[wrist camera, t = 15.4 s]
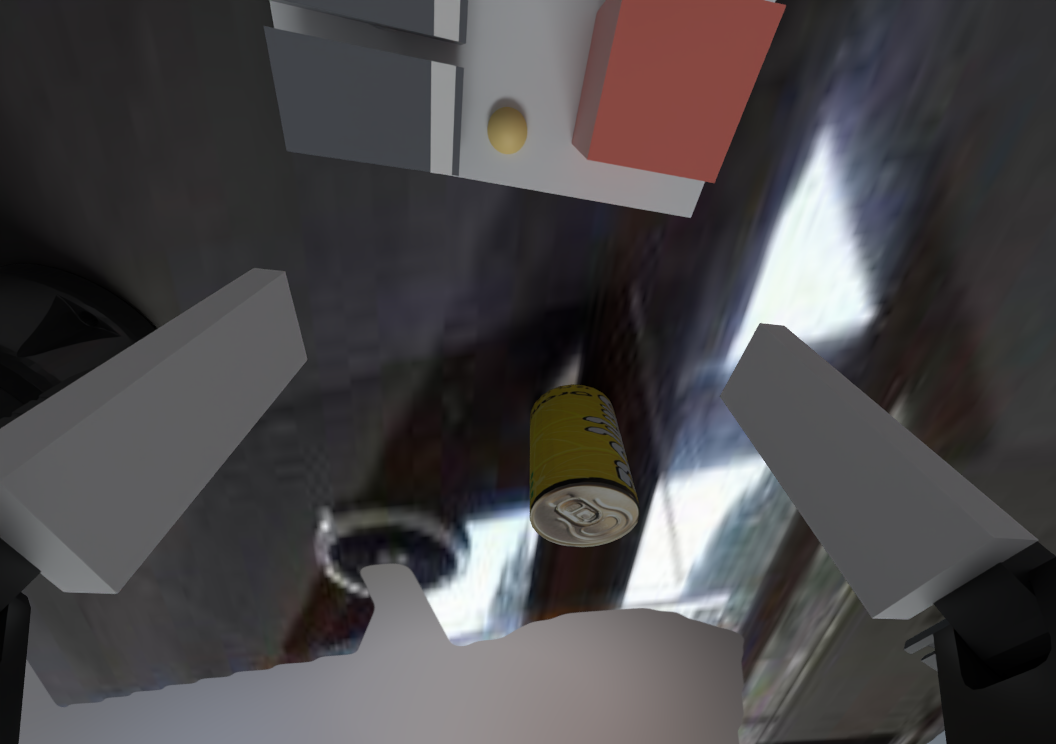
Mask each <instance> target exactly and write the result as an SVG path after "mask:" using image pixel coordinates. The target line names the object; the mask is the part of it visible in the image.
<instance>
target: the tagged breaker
mask: <svg viewBox="0 0 1056 744" xmlns="http://www.w3.org/2000/svg"><path fill="white" fill-rule="evenodd" d="M264 30H265V36H266V41H267V46H268V52H269V57H270V63H271V68H272V73H273V79H274V84H275V90H276V95H277V101H278V106H279V111H280V117H281V122H282V128H283V133H284V138H285V144H286V149H287V151H289V152H296V153H303V154H310V155H317V156H324V157H330V158H337V159H344V160H351V161H358V162H365V163H372V164H379V165H386V166H393V167H400V168H407V169H414V170H420V171H427V172H431V173H438V174H445V175H455V176H459V162H460V140H461V119H462V98H463V77H464V68H463V67H458V66H454V65H449V64H444V63H439V62H435V61H429V60H424V59H420V58H415V57H410V56H405V55H400V54H396V53H391V52H386V51H381V50H376V49H372V48H367V47H362V46H357V45H352V44H348V43H343V42H338V41H333V40H328V39H324V38H319V37H314V36H309V35H304V34H300V33H295V32H290V31H285V30H280V29H276V28H271V27H266V26H264Z"/></svg>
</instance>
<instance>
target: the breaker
mask: <svg viewBox="0 0 1056 744" xmlns="http://www.w3.org/2000/svg"><path fill="white" fill-rule="evenodd" d="M270 1H274V2H278V3H283V4H287V5H291V6H296V7H300V8H304V9H308V10H313V11H317V12H321V13H326V14H330V15H334V16H338V17H343V18H347V19H351V20H355V21H360V22H364V23H368V24H373V25H377V26H381V27H385V28H390V29H394V30H398V31H402V32H407V33H411V34H415V35H420V36H424V37H428V38H432V39H437V40H441V41H445V42H450V43H454V44H458V45H463V44H466V35H467V15H468V0H270Z"/></svg>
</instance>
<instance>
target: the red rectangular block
mask: <svg viewBox="0 0 1056 744" xmlns="http://www.w3.org/2000/svg"><path fill="white" fill-rule="evenodd" d="M785 7H786V5H783V4H778V3H774V2H770V1H765V0H606V1H605V2H604V3H603V5H602V6H601V7H600V9H599V10H598V11H597V14H596V19H595V25H594V30H593V35H592V40H591V45H590V50H589V56H588V61H587V66H586V71H585V76H584V81H583V87H582V92H581V97H580V102H579V107H578V112H577V118H576V123H575V128H574V133H573V138H572V145H573V146H574V147H575V148H576V149H577V150H578V151H579V152H580V153H581V154H582V155H583V156H584V157H585V158H586V159H587V160H591V161H597V162H602V163H608V164H613V165H619V166H624V167H629V168H635V169H640V170H646V171H651V172H657V173H662V174H667V175H673V176H678V177H684V178H689V179H695V180H700V181H706V182H711V183H715V180H716V178H717V175H718V173H719V170H720V168H721V165H722V163H723V160H724V158H725V156H726V153H727V151H728V148H729V146H730V143H731V141H732V138H733V136H734V133H735V131H736V128H737V126H738V123H739V121H740V118H741V116H742V113H743V111H744V109H745V106H746V104H747V101H748V99H749V96H750V94H751V91H752V89H753V86H754V84H755V81H756V79H757V76H758V74H759V71H760V69H761V66H762V64H763V62H764V59H765V57H766V54H767V52H768V49H769V47H770V44H771V42H772V39H773V37H774V34H775V32H776V29H777V27H778V24H779V22H780V19H781V17H782V15H783V12H784V10H785Z"/></svg>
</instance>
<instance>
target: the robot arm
mask: <svg viewBox="0 0 1056 744" xmlns="http://www.w3.org/2000/svg"><path fill="white" fill-rule="evenodd" d="M306 361H307V356H306V352H305V348H304V344H303V340H302V336H301V332H300V328H299V324H298V320H297V317H296V313H295V309H294V305H293V301H292V297H291V293H290V289H289V285H288V281H287V277H286V273H285V271H276V270H267V269H258V268H253V269H251V270H250V271H248V272H247V273H245V274H244V275H242V276H240V277H239V278H237V279H236V280H234V281H232V282H231V283H229V284H228V285H226V286H225V287H223V288H221V289H220V290H218V291H217V292H215V293H214V294H212V295H210V296H209V297H207V298H206V299H204V300H202V301H201V302H199V303H198V304H196V305H195V306H193V307H191V308H190V309H188V310H187V311H185V312H184V313H182V314H180V315H179V316H177V317H176V318H174V319H173V320H171V321H169V322H168V323H166V324H165V325H163V326H161V327H160V328H158V329H157V330H155V329H154V327H153V326H152V325H151V324H150V323H149V322H148V321H147V320H146V319H145V318H144V317H143V316H141V315H140V314H139V313H138V312H137V311H136V310H134V309H133V308H132V307H131V306H129V305H128V304H127V303H125V302H124V301H123V300H121V299H120V298H118V297H117V296H115V295H114V294H112V293H110V292H109V291H107V290H105V289H104V288H102V287H100V286H98V285H96V284H94V283H92V282H90V281H88V280H86V279H84V278H81V277H79V276H76V275H74V274H71V273H68V272H65V271H62V270H59V269H55V268H51V267H47V266H42V265H35V264H11V265H6V266H2V267H0V744H18V743H19V732H20V721H21V710H22V698H23V689H24V677H25V666H26V656H27V645H28V634H29V623H30V612H31V607H30V604H29V600H28V597H27V596H26V595H24V594H23V593H21V591H22V590H23V589H24V588H25V587H26V586H27V585H28V584H29V583H30V582H31V581H32V580H33V579H34V578H35V577H36V576H37V575H38V574H39V573H41V574H42V575H43V576H45V577H46V578H47V579H48V580H49V581H51V582H52V583H53V584H54V585H56V586H57V587H58V588H59V589H61V590H62V591H63V592H77V593H108V594H118V593H119V591H120V590H121V589H122V588H123V586H124V585H125V584H126V583H127V581H128V580H129V579H130V578H131V577H132V575H133V574H134V573H135V572H136V570H137V569H138V568H139V567H140V565H141V564H142V563H143V562H144V560H145V559H146V558H147V557H148V556H149V554H150V553H151V552H152V551H153V549H154V548H155V547H156V546H157V544H158V543H159V542H160V541H161V540H162V538H163V537H164V536H165V535H166V533H167V532H168V531H169V530H170V528H171V527H172V526H173V525H174V523H175V522H176V521H177V520H178V519H179V517H180V516H181V515H182V514H183V512H184V511H185V510H186V509H187V507H188V506H189V505H190V504H191V503H192V501H193V500H194V499H195V498H196V496H197V495H198V494H199V493H200V491H201V490H202V489H203V488H204V487H205V485H206V484H207V483H208V482H209V480H210V479H211V478H212V477H213V475H214V474H215V473H216V472H217V470H218V469H219V468H220V467H221V466H222V464H223V463H224V462H225V461H226V459H227V458H228V457H229V456H230V454H231V453H232V452H233V451H234V450H235V448H236V447H237V446H238V445H239V443H240V442H241V441H242V440H243V438H244V437H245V436H246V435H247V434H248V432H249V431H250V430H251V429H252V427H253V426H254V425H255V424H256V422H257V421H258V420H259V419H260V417H261V416H262V415H263V414H264V413H265V411H266V410H267V409H268V408H269V406H270V405H271V404H272V403H273V401H274V400H275V399H276V398H277V397H278V395H279V394H280V393H281V392H282V390H283V389H284V388H285V387H286V385H287V384H288V383H289V382H290V380H291V379H292V378H293V377H294V376H295V374H296V373H297V372H298V371H299V369H300V368H301V367H302V366H303V364H304V363H305V362H306ZM720 397H721V399H722V400H723V401H724V403H725V404H726V406H727V407H728V409H729V410H730V412H731V413H732V415H733V416H734V417H735V419H736V420H737V422H738V423H739V425H740V426H741V428H742V429H743V431H744V432H745V434H746V435H747V436H748V438H749V439H750V441H751V442H752V444H753V445H754V447H755V448H756V450H757V451H758V452H759V454H760V455H761V457H762V458H763V460H764V461H765V463H766V464H767V466H768V467H769V468H770V470H771V471H772V473H773V474H774V476H775V477H776V479H777V480H778V482H779V483H780V484H781V486H782V487H783V489H784V490H785V492H786V493H787V495H788V496H789V498H790V499H791V501H792V502H793V503H794V505H795V506H796V508H797V509H798V511H799V512H800V514H801V515H802V517H803V518H804V519H805V521H806V522H807V524H808V525H809V527H810V528H811V530H812V531H813V533H814V534H815V535H816V537H817V538H818V540H819V541H820V543H821V544H822V546H823V547H824V549H825V550H826V551H827V553H828V554H829V556H830V557H831V559H832V560H833V562H834V563H835V565H836V566H837V568H838V569H839V570H840V572H841V573H842V575H843V576H844V578H845V579H846V581H847V582H848V584H849V585H850V586H851V588H852V589H853V591H854V592H855V594H856V595H857V597H858V598H859V600H860V601H861V602H862V604H863V605H864V607H865V608H866V610H867V611H868V613H869V614H870V616H871V617H872V618H880V619H910V618H912V617H913V616H915V615H917V614H918V613H920V612H922V611H923V610H925V609H927V608H928V607H930V606H931V605H933V604H934V605H935V606H936V607H937V608H938V610H939V611H940V612H941V613H942V615H943V616H944V617H945V618H946V619H944V620H942V621H941V622H939V623H937V624H935V625H934V626H932V627H930V628H928V629H926V630H925V631H923V632H921V633H919V634H918V635H916V636H914V637H912V638H911V639H909V640H907V641H906V643H905V647H904V650H905V651H907V652H908V653H910V654H912V653H914V652H916V651H918V650H920V649H922V648H924V647H925V646H929V647H932V648H935V651H933V652H931V653H929V654H927V655H926V656H924V657H923V658H922V659H921V661H922V662H924V663H925V664H927V665H929V666H930V667H932V668H933V669H935V670H936V671H938V678H939V686H940V694H941V702H942V710H943V718H944V726H945V735H946V742H947V744H1056V556H1055V555H1054V554H1052V553H1051V552H1050V551H1048V550H1047V549H1046V548H1045V547H1043V546H1042V545H1041V544H1040V543H1039V542H1037V541H1038V539H1037V538H1036V537H1034V536H1033V535H1032V534H1031V533H1030V532H1028V531H1027V530H1026V529H1025V528H1024V527H1022V526H1021V525H1020V524H1019V523H1018V522H1017V521H1015V520H1014V519H1013V518H1012V517H1011V516H1009V515H1008V514H1007V513H1006V512H1005V511H1003V510H1002V509H1001V508H1000V507H999V506H998V505H996V504H995V503H994V502H993V501H992V500H990V499H989V498H988V497H987V496H986V495H984V494H983V493H982V492H981V491H980V490H979V489H977V488H976V487H975V486H974V485H973V484H971V483H970V482H969V481H968V480H967V479H965V478H964V477H963V476H962V475H961V474H960V473H958V472H957V471H956V470H955V469H954V468H952V467H951V466H950V465H949V464H948V463H946V462H945V461H944V460H943V459H942V458H941V457H939V456H938V455H937V454H936V453H935V452H933V451H932V450H931V449H930V448H929V447H927V446H926V445H925V444H924V443H923V442H922V441H920V440H919V439H918V438H917V437H916V436H914V435H913V434H912V433H911V432H910V431H908V430H907V429H906V428H905V427H904V426H903V425H901V424H900V423H899V422H898V421H897V420H895V419H894V418H893V417H892V416H891V415H889V414H888V413H887V412H886V411H885V410H884V409H882V408H881V407H880V406H879V405H878V404H876V403H875V402H874V401H873V400H872V399H870V398H869V397H868V396H867V395H866V394H865V393H863V392H862V391H861V390H860V389H859V388H857V387H856V386H855V385H854V384H853V383H851V382H850V381H849V380H848V379H847V378H846V377H844V376H843V375H842V374H841V373H840V372H838V371H837V370H836V369H835V368H834V367H832V366H831V365H830V364H829V363H828V362H827V361H825V360H824V359H823V358H822V357H821V356H819V355H818V354H817V353H816V352H815V351H813V350H812V349H811V348H810V347H809V346H808V345H806V344H805V343H804V342H803V341H802V340H800V339H799V338H798V337H797V336H796V335H794V334H793V333H792V332H791V331H790V330H789V329H787V328H786V327H785V326H781V325H771V324H762V323H760V324H759V326H758V327H757V329H756V331H755V333H754V335H753V337H752V338H751V340H750V342H749V344H748V346H747V348H746V349H745V351H744V353H743V355H742V357H741V359H740V360H739V362H738V364H737V366H736V368H735V370H734V371H733V373H732V375H731V377H730V379H729V381H728V382H727V384H726V386H725V388H724V390H723V392H722V393H721V395H720Z"/></svg>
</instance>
